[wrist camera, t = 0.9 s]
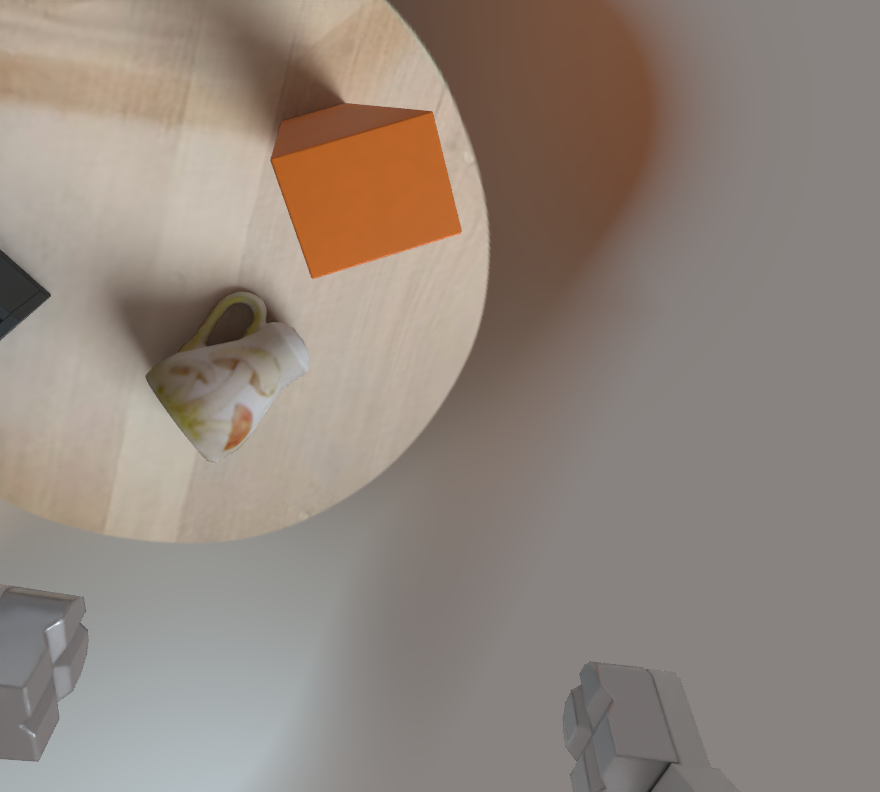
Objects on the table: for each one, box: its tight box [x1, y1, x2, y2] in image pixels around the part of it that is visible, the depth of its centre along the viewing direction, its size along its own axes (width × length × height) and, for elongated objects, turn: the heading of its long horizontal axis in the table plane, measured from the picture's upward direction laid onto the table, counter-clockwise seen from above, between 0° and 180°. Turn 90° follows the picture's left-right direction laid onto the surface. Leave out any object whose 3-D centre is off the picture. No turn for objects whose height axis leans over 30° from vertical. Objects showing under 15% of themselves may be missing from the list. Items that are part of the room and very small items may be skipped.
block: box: [271, 103, 462, 279], centre depth 29 cm, size 3×4×28 cm
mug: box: [145, 292, 310, 462], centre depth 44 cm, size 8×10×10 cm
